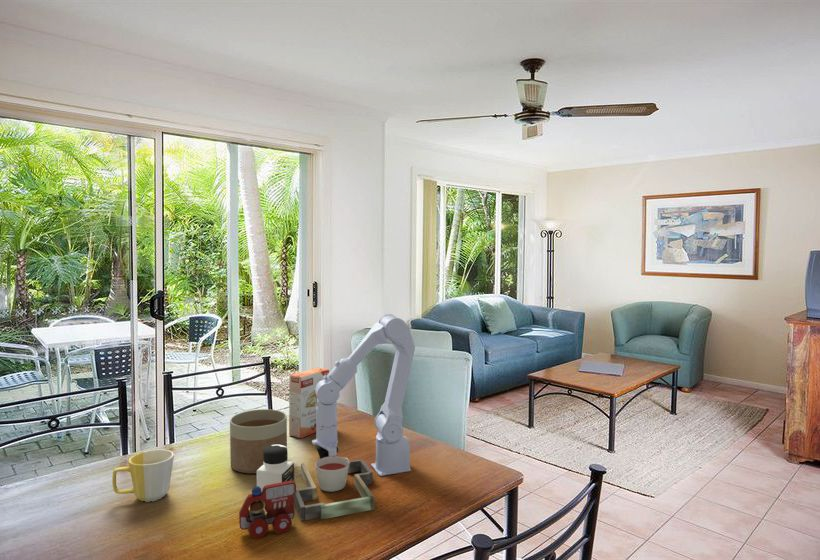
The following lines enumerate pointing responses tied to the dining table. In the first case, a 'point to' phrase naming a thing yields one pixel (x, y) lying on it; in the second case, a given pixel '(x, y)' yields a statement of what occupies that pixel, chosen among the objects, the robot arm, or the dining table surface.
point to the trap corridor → (338, 507)
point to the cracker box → (304, 401)
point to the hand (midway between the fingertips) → (326, 471)
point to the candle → (332, 473)
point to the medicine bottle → (275, 466)
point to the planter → (255, 437)
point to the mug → (148, 474)
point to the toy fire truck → (268, 509)
